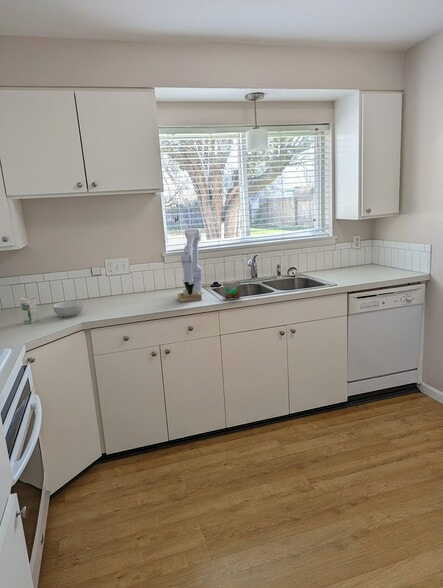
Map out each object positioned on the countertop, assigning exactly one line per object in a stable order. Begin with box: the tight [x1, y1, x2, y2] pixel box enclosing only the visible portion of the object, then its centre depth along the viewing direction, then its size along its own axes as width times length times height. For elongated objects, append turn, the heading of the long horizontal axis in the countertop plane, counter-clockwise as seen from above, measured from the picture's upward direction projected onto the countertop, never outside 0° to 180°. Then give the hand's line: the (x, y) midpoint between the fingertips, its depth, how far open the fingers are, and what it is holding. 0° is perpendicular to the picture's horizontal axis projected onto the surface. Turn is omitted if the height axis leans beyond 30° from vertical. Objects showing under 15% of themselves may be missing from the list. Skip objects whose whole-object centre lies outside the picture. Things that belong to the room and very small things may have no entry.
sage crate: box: [182, 289, 197, 296], centre depth 259 cm, size 5×8×4 cm, turn 105°
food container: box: [222, 281, 242, 300], centre depth 257 cm, size 12×6×10 cm, turn 62°
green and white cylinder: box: [19, 295, 39, 324], centre depth 224 cm, size 6×6×14 cm
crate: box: [177, 291, 203, 303], centre depth 260 cm, size 10×14×4 cm
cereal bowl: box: [52, 300, 85, 318], centre depth 235 cm, size 17×17×7 cm
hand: (189, 293), depth 259 cm, fingers closed on sage crate, 5 cm apart
